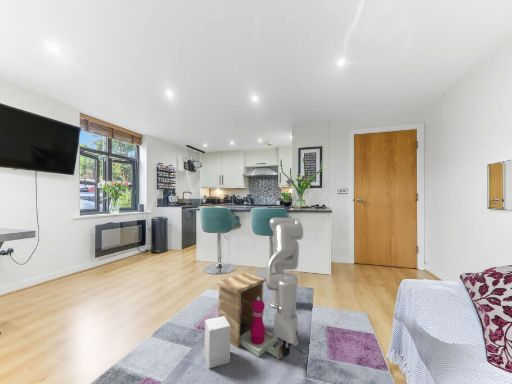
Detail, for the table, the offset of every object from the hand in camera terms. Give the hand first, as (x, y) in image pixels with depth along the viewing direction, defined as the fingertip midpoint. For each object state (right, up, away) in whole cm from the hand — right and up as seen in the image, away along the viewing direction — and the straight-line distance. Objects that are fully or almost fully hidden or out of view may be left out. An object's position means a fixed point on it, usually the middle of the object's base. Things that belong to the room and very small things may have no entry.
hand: (285, 354), depth 94 cm
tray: (-9, -2, +8) cm, 12 cm away
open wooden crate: (-21, -3, +18) cm, 28 cm away
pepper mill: (-12, -1, +11) cm, 16 cm away
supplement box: (-29, -2, 0) cm, 29 cm away
